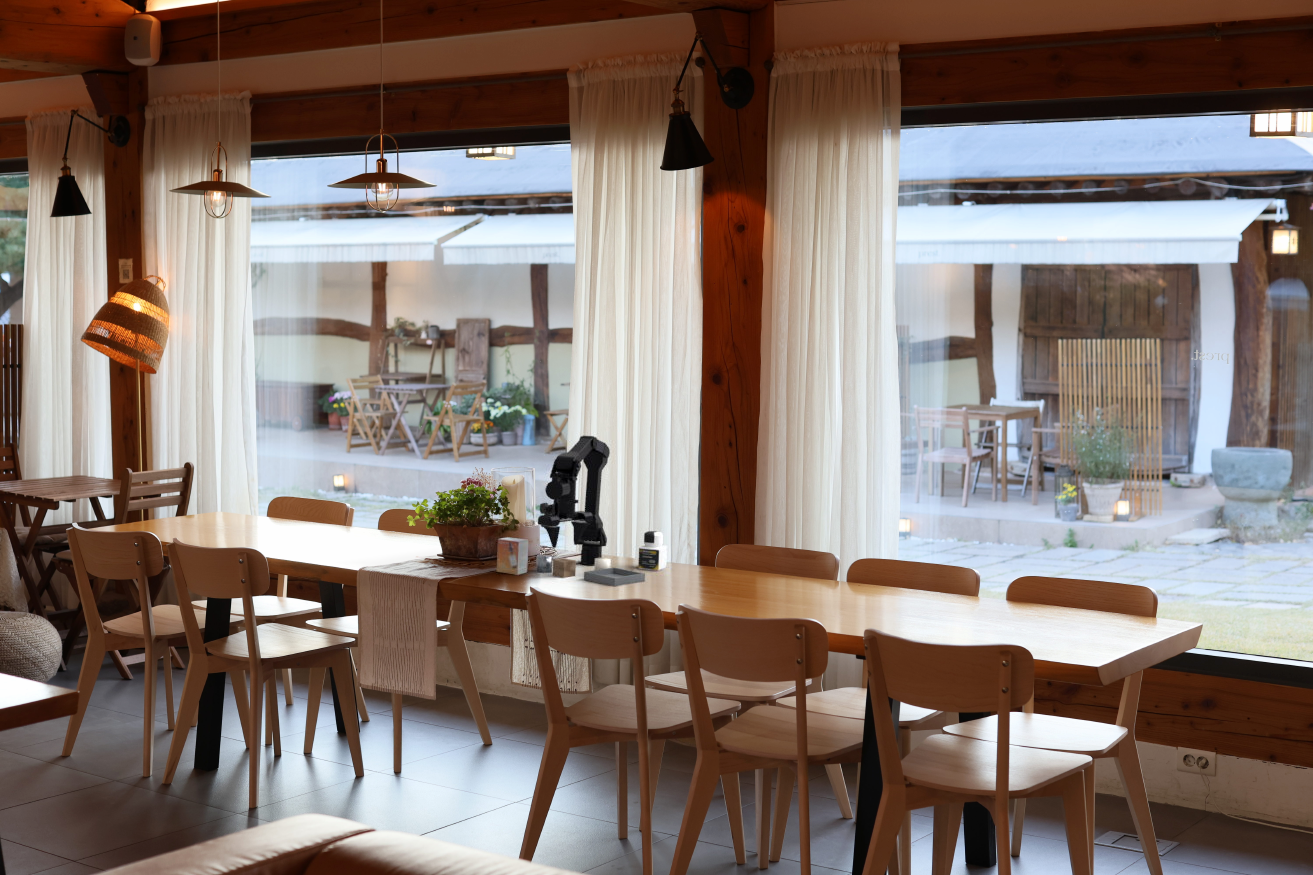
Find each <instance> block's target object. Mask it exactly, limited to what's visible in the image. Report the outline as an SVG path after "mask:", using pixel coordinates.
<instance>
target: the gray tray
mask: <svg viewBox="0 0 1313 875" xmlns="http://www.w3.org/2000/svg"><path fill="white" fill-rule="evenodd" d="M583 580H584V581H588V582H593V583H597V584H603V585H608V586H611V585H613V587H619V586H624V585H630V584H636V583H642V582H643V583H644V582H645V580H646V573H644V572H639V571H633V570H629V569H625V568H624V569H623V568H620V567H616V566H615V567H611V568H606V569H600V570H594V569H593V570H587V571H584V572H583ZM618 585H619V586H618Z"/></svg>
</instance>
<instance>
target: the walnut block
mask: <svg viewBox="0 0 1313 875" xmlns="http://www.w3.org/2000/svg"><path fill="white" fill-rule="evenodd" d="M576 565H577V560H576V559H570V558H566V557H565V558H556V559H552V576H553V577H558V578H561V579H562V578H563V579H566V578H573V577H576V567H577V566H576Z"/></svg>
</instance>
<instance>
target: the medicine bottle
mask: <svg viewBox="0 0 1313 875" xmlns="http://www.w3.org/2000/svg"><path fill="white" fill-rule="evenodd" d="M663 536H664V534H663V533H662V532H660V531H656V530H655V531H654V530H649V531H646V532H644V534H643V544H644V545H642V546H639V547H638V563H637V564H638V567H637V568H638V569H639V570H646V571H654V572H655V571H656V572H658V571H662V570H664V569H666V568H667V560H668V559H667V558H668V557H667V556H668V546H667V545H663V543H664V542H663V538H664V537H663Z"/></svg>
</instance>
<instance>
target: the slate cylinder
mask: <svg viewBox="0 0 1313 875" xmlns="http://www.w3.org/2000/svg"><path fill="white" fill-rule="evenodd" d="M553 560H554V558H553V555H552V554H537V555H536V563H535V564H536V565H535V571H536V573H540V574H551V573H553Z"/></svg>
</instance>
